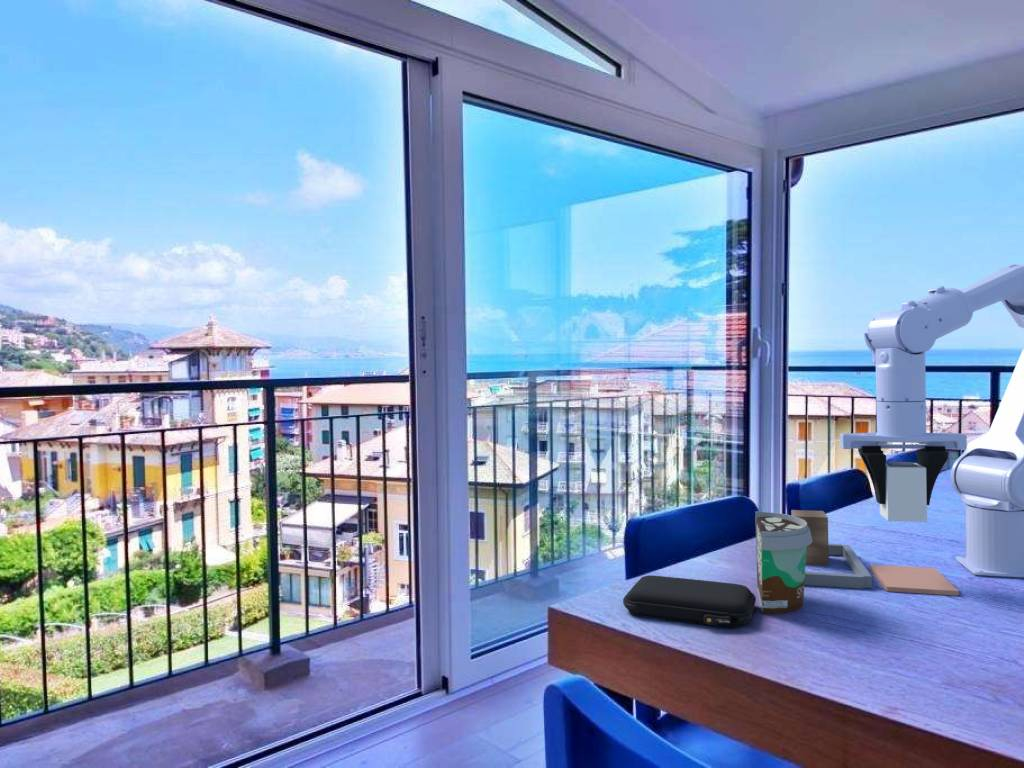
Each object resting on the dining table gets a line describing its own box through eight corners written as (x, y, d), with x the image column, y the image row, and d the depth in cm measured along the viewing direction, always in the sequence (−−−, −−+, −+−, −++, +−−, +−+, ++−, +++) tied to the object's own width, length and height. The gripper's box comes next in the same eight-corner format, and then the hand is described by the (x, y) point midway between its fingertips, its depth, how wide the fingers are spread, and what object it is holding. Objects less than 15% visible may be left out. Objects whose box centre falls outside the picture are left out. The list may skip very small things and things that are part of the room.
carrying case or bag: (616, 621, 80) (748, 639, 74) (616, 595, 80) (748, 611, 74) (638, 593, 90) (757, 607, 84) (638, 570, 90) (756, 582, 84)
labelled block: (916, 514, 92) (915, 461, 92) (926, 522, 88) (926, 466, 88) (879, 513, 94) (878, 461, 93) (888, 520, 89) (887, 465, 89)
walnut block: (824, 557, 103) (823, 511, 103) (828, 565, 99) (827, 517, 99) (792, 555, 104) (791, 510, 104) (795, 563, 100) (794, 516, 100)
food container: (821, 622, 77) (819, 534, 77) (763, 618, 79) (761, 532, 79) (806, 588, 89) (805, 512, 89) (756, 585, 91) (755, 510, 91)
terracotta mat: (934, 572, 94) (934, 567, 94) (958, 595, 85) (958, 590, 85) (870, 568, 97) (870, 564, 97) (886, 591, 87) (886, 586, 87)
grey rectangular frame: (848, 554, 104) (848, 544, 104) (872, 589, 88) (872, 577, 88) (764, 550, 108) (764, 540, 108) (773, 583, 91) (773, 572, 91)
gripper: (952, 398, 92) (954, 498, 93) (835, 400, 96) (837, 496, 97) (972, 401, 85) (973, 509, 86) (845, 403, 90) (847, 506, 90)
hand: (902, 503), depth 91 cm, fingers closed on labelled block, 4 cm apart
